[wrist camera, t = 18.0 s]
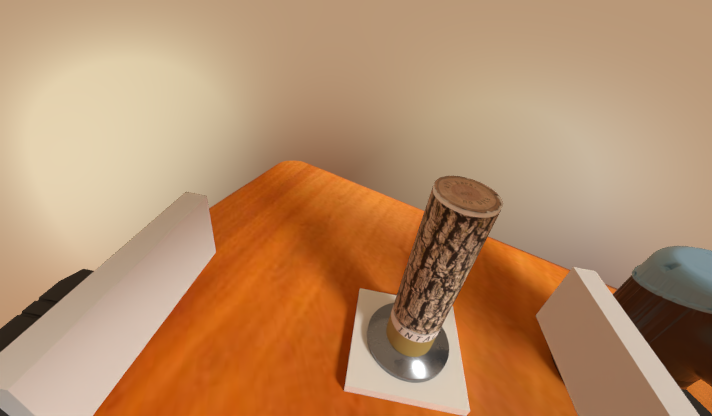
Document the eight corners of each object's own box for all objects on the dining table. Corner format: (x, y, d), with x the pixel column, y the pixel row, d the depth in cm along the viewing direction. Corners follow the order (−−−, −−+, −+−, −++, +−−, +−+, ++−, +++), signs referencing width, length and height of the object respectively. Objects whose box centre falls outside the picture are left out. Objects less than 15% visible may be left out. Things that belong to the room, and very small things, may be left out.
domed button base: (450, 312, 52) (454, 302, 51) (465, 416, 39) (472, 407, 38) (358, 293, 53) (360, 284, 51) (343, 390, 39) (346, 381, 38)
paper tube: (380, 317, 46) (424, 174, 32) (422, 315, 48) (482, 177, 33) (391, 361, 41) (449, 212, 27) (438, 357, 42) (517, 214, 28)
